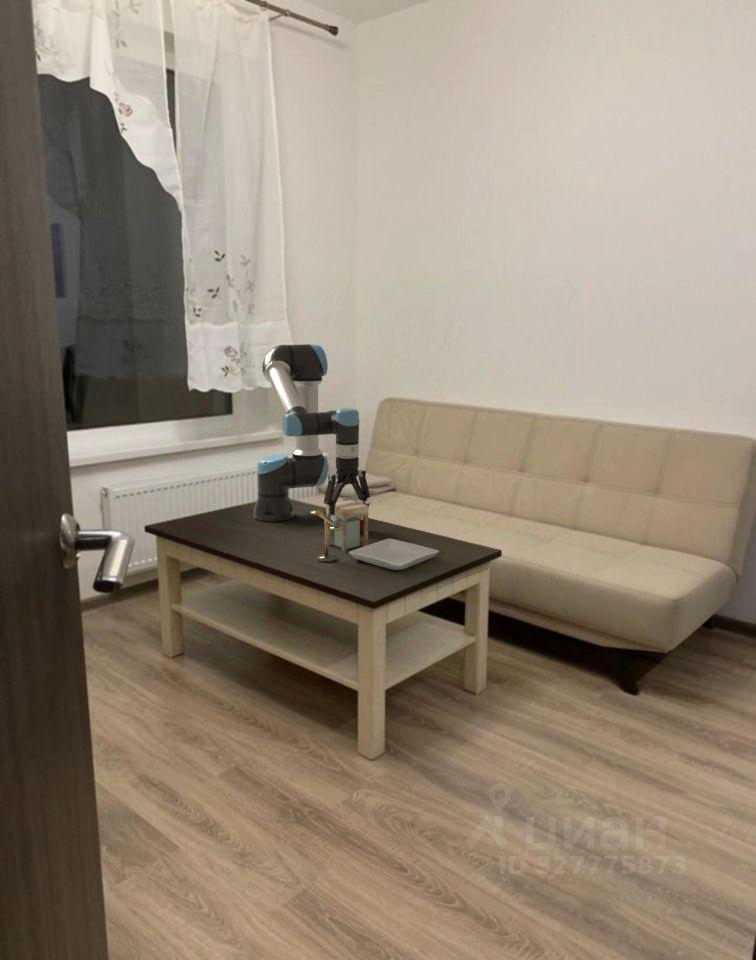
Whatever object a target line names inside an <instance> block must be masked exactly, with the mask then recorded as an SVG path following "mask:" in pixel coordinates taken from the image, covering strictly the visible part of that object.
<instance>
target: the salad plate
mask: <svg viewBox="0 0 756 960" xmlns="http://www.w3.org/2000/svg"><path fill="white" fill-rule="evenodd" d="M439 552H440V550H437V549H434V548H431V547H427V546H423V545H420V544H416V543H413V542H412V543H411V542H406V541H402V540H399V539H393V538H386V539H383V540H380V541H376V542H373V543H371V544H368V545H367V546H364V545H363V546H362V547H359V548H356V549H353V550H350V551H349V552H348V553H349V555H350V556H351V557H352V558H354V559H356V560H358V561H362V562H364V563H367V564H371V565H374V566H378V567H382V568H385V569H388V570H392V571H393V570H394V571H401V570H405V569H408V568H410V567H413V566H415V565H417V564H419V563H422V562H424V561H428V560H430V559H432V558H434V557H435V556H437V555H438V553H439Z"/></svg>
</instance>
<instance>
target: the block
mask: <svg viewBox="0 0 756 960" xmlns="http://www.w3.org/2000/svg"><path fill="white" fill-rule="evenodd" d="M337 520H338V521H340V526H342V518H339V517H337ZM360 537H361V534H360V520H358V519H355V518H348V519H346V550H347V549H353V548H357V547H360V546H361V545H360V544H361V543H360V542H361V541H360V540H361V539H360ZM334 545H335V546H337V547H339V548H341V549H342V530H339V531H334Z"/></svg>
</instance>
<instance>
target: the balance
mask: <svg viewBox="0 0 756 960" xmlns="http://www.w3.org/2000/svg"><path fill="white" fill-rule="evenodd" d="M310 515H313V516H319V517H320V518H321V519H322V520H324V553H320V554H317V555H316V559H317V562H320V563H332V562H335V561H336V560H337V555H336V554H334V553H329V545H328V523H329V524H331V526H330V530H331V531H334V532H335V531H339V530H342V529H343V526H340V521H338V520H336V521H333V520H331V517H330V518H329V517H327V516H326V514H325V513H324V511H323V510H322V509H314V510H313V509H312V510H311V511H310Z"/></svg>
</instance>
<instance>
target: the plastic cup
mask: <svg viewBox="0 0 756 960" xmlns="http://www.w3.org/2000/svg"><path fill="white" fill-rule="evenodd" d="M347 500H352V501H355V502H357V500H360V499H359V498H358V497H354V496H352V497H351V496H350V497H343V498H341V499H340V502H341V501H347ZM371 503H372V501H371V500H370V499H369V498H367V501H365V505H367V506H368V509H369V507H370V504H371ZM353 518H355V519H357V517H353ZM358 520H360V519H358ZM361 534H364V515H363V520H360V535H361Z"/></svg>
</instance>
